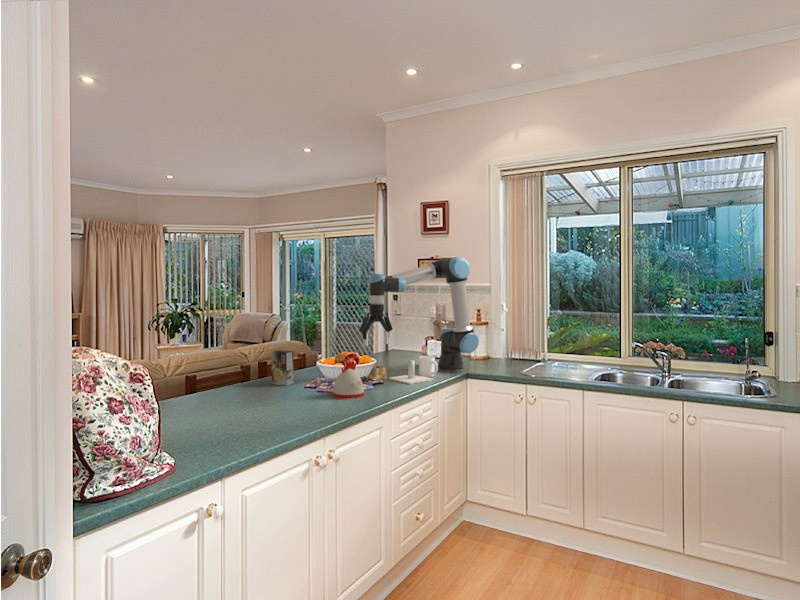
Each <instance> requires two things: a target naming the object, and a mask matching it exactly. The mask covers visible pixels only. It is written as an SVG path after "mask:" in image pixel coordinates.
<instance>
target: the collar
mask: <svg viewBox="0 0 800 600" xmlns="http://www.w3.org/2000/svg"><path fill="white" fill-rule="evenodd" d="M372 366H373V368H372V370H371V372H370V374H369V376H368V378H369V379H384V380H387V379H388V367H386V366H383V365H372ZM369 379H368V380H369Z"/></svg>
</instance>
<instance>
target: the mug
mask: <svg viewBox="0 0 800 600" xmlns="http://www.w3.org/2000/svg"><path fill="white" fill-rule="evenodd" d="M435 358H436V357H435V356H432V355H421V356H419V358H418V359H419V361H418V376H423V377H428V378H433V376H434V377H435V375H436V374H437V373H438V370H439V367H438V362H437V361H436V359H435Z"/></svg>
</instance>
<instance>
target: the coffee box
mask: <svg viewBox="0 0 800 600" xmlns="http://www.w3.org/2000/svg"><path fill="white" fill-rule="evenodd" d="M270 353H271V354H270V355H271V385H277V386H285V387H287V386H291V385H293V384H294V383H295V382H294V351H293V350H281V349H278V350H273V351H271V352H270Z"/></svg>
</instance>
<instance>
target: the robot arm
mask: <svg viewBox="0 0 800 600" xmlns="http://www.w3.org/2000/svg"><path fill="white" fill-rule="evenodd" d="M470 273H471V266H470V264H469V262H468V260H466V259H465V258H464V257H459V256H458V257H457V256H456V257H455V256H454V257H445V258H440V259H438V260H435V261H432V262H428V263H427V265H424V266H420V267H417V268H413V269H410V270H406V271H402V272H398V273H395V274H391V275H388V276H385V273H371V274H370V276H369V305H368V307H369V309H368V310H369V313H368V312H365V313H364V316H363V320H362V323H361V326H360V328H359V330H358V331H359V332H360V333H361V334H362V339H363V346H365V347H368V346H369V333H368V332H369V330H370V328H371V327H372V325H373V324H374V323H376V322H378V323H380V325H381V326H382V327H383V330H384V331H383V344H385V345H388V344H389V338H390V332H391V331H393V329H394V328H393V325H392V323H391V320H390V318H389V313H388V312H385V311H384V310H385V304H384V303H385V293H403V292H405V291H406V288H407V286H408V285H412V284H415V283H418V282H422V281H426V280H436V279H445V280H446V284H448V285H449V288H450V289H449V291H450V297H451V303H452V304H451V305H452V314H453V322H454V327H453V328H452V327H451V328H442V329H441V333H440V339H441V340H440V342H441V343H440V356H439V358H438V362H437V365H438V368H439V367H440V369H444V368H445V370H458V369H459V368H461V369H463V368H464V362H463V358H462V354H461V353H463V354H472V353H474V352H475V351H476V350H477V349H478V347H479V343H480V340H479V339H480V338H479V337H478V335H477V334H476V333H475V332H474V331H475V330H474V327H473V326H472V325H471V320H470V313H469V306H468V304H469V303H468V296H467V289H466V283H467V281H468V276H469V274H470ZM459 370H460V369H459Z"/></svg>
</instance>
